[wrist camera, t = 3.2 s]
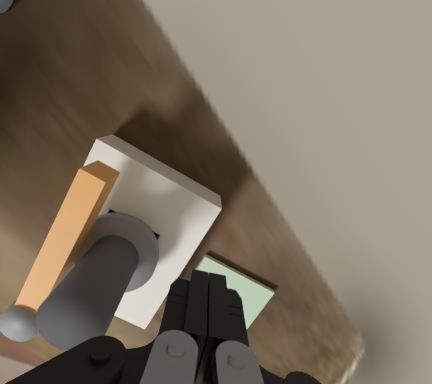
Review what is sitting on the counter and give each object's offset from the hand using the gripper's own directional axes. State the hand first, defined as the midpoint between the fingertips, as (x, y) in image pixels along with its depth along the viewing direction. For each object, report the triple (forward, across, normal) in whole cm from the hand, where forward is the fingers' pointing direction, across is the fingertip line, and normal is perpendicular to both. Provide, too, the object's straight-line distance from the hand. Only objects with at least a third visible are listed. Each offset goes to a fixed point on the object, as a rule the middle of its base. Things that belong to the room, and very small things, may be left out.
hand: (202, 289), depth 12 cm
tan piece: (+10, +10, +5) cm, 15 cm away
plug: (+17, +6, +6) cm, 19 cm away
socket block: (+17, +6, +6) cm, 19 cm away
